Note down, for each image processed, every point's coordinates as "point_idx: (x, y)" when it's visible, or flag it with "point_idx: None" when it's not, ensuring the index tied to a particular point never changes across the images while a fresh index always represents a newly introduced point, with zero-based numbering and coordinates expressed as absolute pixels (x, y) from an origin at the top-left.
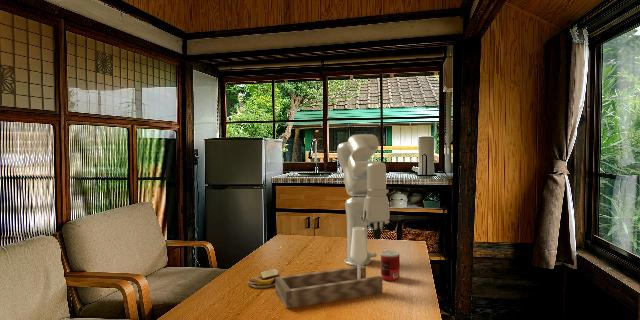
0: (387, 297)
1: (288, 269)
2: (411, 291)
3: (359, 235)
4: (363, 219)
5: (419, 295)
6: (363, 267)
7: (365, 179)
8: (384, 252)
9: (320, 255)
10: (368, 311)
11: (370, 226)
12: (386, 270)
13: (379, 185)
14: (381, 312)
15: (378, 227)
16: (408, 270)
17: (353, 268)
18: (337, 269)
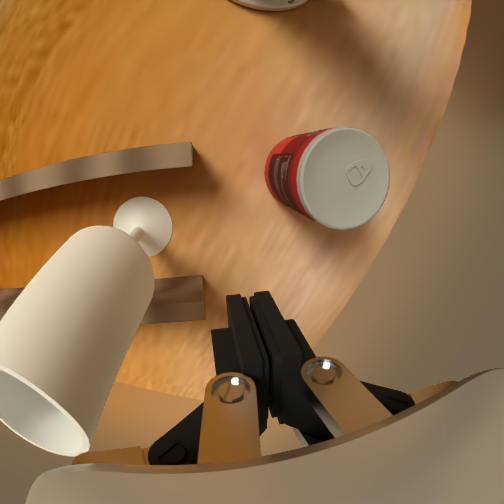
0: (205, 322)
1: (18, 16)
2: (296, 299)
3: (57, 412)
4: (41, 479)
5: (299, 327)
6: (178, 166)
7: None
8: (332, 143)
9: None
10: (129, 374)
11: (182, 425)
12: (282, 199)
13: None
14: (158, 385)
15: (290, 423)
16: (390, 127)
17: (125, 170)
18: (58, 167)
